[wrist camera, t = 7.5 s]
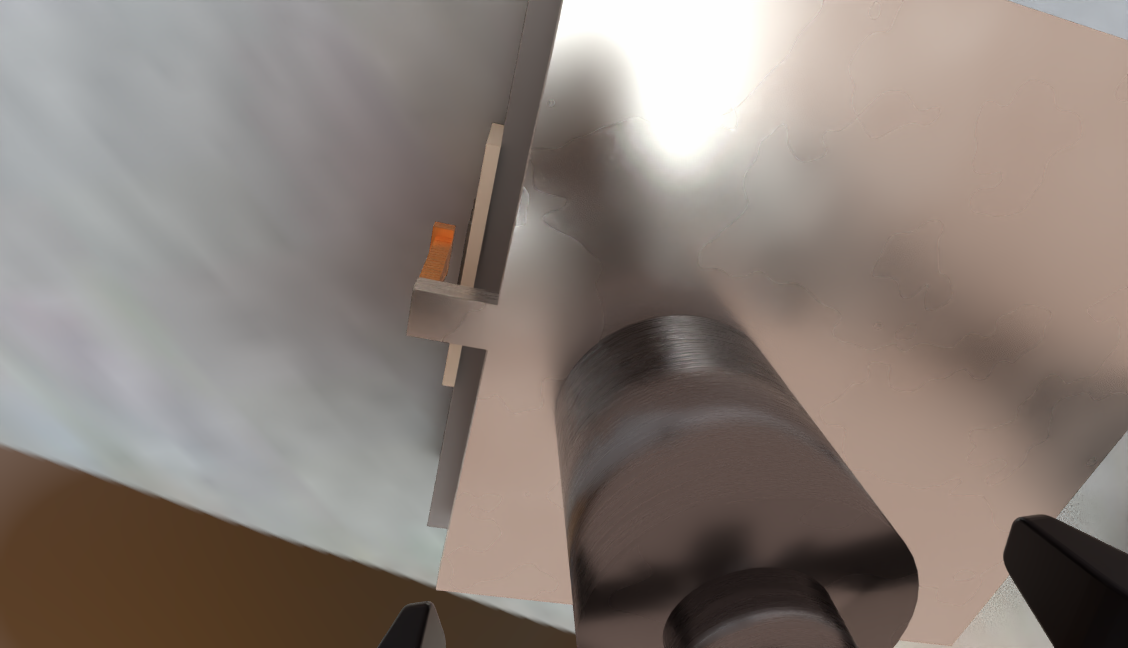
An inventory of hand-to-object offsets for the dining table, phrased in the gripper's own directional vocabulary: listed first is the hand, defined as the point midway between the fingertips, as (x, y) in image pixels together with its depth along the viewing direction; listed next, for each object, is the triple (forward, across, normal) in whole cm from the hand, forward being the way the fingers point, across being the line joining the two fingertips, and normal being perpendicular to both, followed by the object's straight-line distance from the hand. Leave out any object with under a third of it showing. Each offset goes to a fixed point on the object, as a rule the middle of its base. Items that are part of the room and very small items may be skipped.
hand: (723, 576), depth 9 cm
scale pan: (+8, -3, 0) cm, 9 cm away
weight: (+4, 0, 0) cm, 4 cm away
